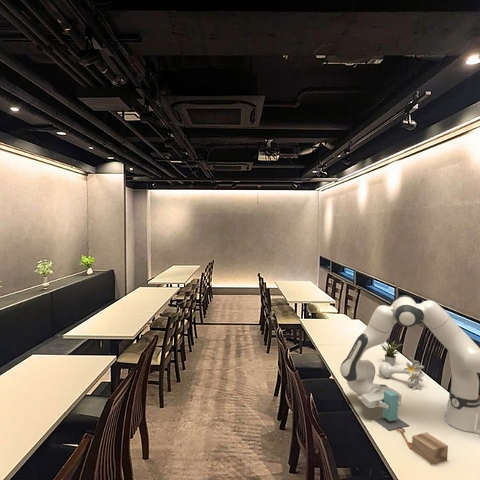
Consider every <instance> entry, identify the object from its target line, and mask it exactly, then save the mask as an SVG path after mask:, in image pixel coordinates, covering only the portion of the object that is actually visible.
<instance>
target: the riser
mask: <svg viewBox="0 0 480 480" xmlns="http://www.w3.org/2000/svg"><path fill="white" fill-rule="evenodd" d="M411 437H412V438H411V443H412V449H411V451H412V452H414V453H415V454H417V455H418V456H419V457H421V458H423V460H425V461H426V462H428V463H429V464H430V465H432V466H433V465H437V464H440V463H444V462H447V461H448V450H449V445H447V444H446V443H444V442H442V441H441V440H439V439H438V438H437V437H435V436H433V435H431V434H430V433H429V432H422V433H419V434H414V435H412V436H411Z"/></svg>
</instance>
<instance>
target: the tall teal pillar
mask: <svg viewBox="0 0 480 480" xmlns="http://www.w3.org/2000/svg"><path fill="white" fill-rule="evenodd" d="M398 398H399V394H397V393H395V392H393V391H392V390H390V391H385V392H384V403H386V404H387V403H388V404H389V405H390V409H386V408H384V407H382V408H383V409H382V417H384V418H386V419H387V420H389V421H393V420H397V418H398V414H399V407H398Z"/></svg>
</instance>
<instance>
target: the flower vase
mask: <svg viewBox="0 0 480 480" xmlns="http://www.w3.org/2000/svg"><path fill="white" fill-rule="evenodd" d="M409 359H410V360H411V363H412V364H411V363H409V362H406V367H405V368H404V367H395V366H391V365H390V364H389V363H388V362H385V361H383V362H381V363H379V365H378V368H377V369H378V373H379V375H381V376H382V378H385V379H387V378H390V377H391V376H393V375H394V374H406V375H408V376H409V377H408V378H407V380H408V381H410V382H411V384H408V385H407V387H408V388H410V387H412V390H413V391H414V390H416V389H418V390H423V389H422V388H421V385H419V383H420V382H421V383H422V382H424V379H423V377H424V376H425V373H423V371H422V369H424V368H425V366H424V365H422V364H421V363H420V361H419V360H415V359H414V358H413V356H412V357H411V356H410V357H409Z"/></svg>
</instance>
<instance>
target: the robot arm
mask: <svg viewBox="0 0 480 480" xmlns="http://www.w3.org/2000/svg"><path fill="white" fill-rule="evenodd" d="M370 317H371V318H370V319H369V322H368V324H367V326H366V328H365V329H364V331H363V332H362V333H361V334H360V335H358V337H357V338H356V340H355V341H354V343H353V345H352V347H351V349H350V351H349V353H348V355H347V356H346V358H345V359H343V361H342V362H341V364H340V367H339V368H340V369H339V371H340V375H341V376H342V377H343V378H344V379H345V380H346V384H347V386H348V388H349V389H350V390H351V391H353V392H354V393H355V394H357V395H358V396H357V398H358V400H360V401H361V402H362V404H363V405H365V406H366V407H367V408H369V409H372V408H373V409H374V408H378V407H381V408H383V407H384V408H386V409H390V405H389V404H388V403H387V404H386V403H384V392H385V391H390V390H392V391H393V392H395V393H397V394H399V398H398V408H399V407H400V406H401V405H400V404H401V403H400V402H401V401H402V394H401V393H400V392H398V391H396V390H395V389H394V388H391V387H389V386H388V385H387V384H379V383H374V380H375V375H376V368H375V365H374V363H373V362H372V361H371V360H369V359H362V357H363V355H364V354H365V352H366V351H368V350H369V349H372V348H374V347H377V346H381V345H384V344H385V343H386V342H388V341H387V340H388V339H389V338H390V336H391V333H392V331H393V328H394V326H395V325H396V323H397V324H398V325H400V326H402V327H404V328H411V327H415V326H417V325H420V324H422V323H423V324H425V326H426V327H427V328H428V329H429V330H430V332H431V333H432V334H433V335H434V337H435V338H436V339H437V340H438V342H440V343H441V344H442V346H444V348H445V349H447V351H448V354H449V355H448V356H449V363H450V364H449V365H450V371H451V382H450V383H451V384H450V390H449V398H448V400H447V404H446V410H445V411H444V412H443V415H444V417H445V418H444V419H445V422H446V423H447V424H448V425H450V426H452V427H453V428H455V429H457V430H460V431H464V432H469V433H475V434H479V435H480V395H479V392H480V390H479V389H480V379H479V376H478V373H480V347H479V346H478V344H476V343H475V342H474V340H473V339H472V338H471V337H469V335H468V334H467V333H466V332H465V331H464V330H463V329H462V328H461V327H460V325H458V324H457V322H456V321H455V320H454V319H453V318H452V316H451V315H450V314H449V313H447V311H446V310H445V309H444V308H443V307H442V306H440V305H439V304H438V303H437V302H436V301H434V300H425V301H424V300H423V302H420V303H417V301H416V300H415V299H414V298H413V297H412V296H410V295H407V294H403V295H399V296H397V297H396V299H394V300H393V301H391V302H390V303H389V306H388V305H385V304H382V305H378V306H377V307H376V308H375V310H374V312H373V313H372V315H371V316H370ZM383 343H384V344H383Z"/></svg>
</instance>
